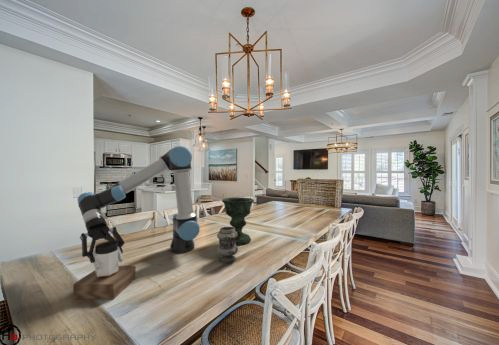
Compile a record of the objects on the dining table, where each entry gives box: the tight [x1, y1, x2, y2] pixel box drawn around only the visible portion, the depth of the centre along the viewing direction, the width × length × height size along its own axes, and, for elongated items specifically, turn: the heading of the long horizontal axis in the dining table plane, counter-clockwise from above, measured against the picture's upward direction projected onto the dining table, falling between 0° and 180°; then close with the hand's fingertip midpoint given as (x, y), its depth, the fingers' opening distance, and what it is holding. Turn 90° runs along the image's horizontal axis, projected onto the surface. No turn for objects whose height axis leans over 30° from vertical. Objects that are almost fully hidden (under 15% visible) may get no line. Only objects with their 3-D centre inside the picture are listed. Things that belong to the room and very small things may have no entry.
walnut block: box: [72, 265, 136, 300], centre depth 93 cm, size 16×16×6 cm
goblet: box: [221, 196, 255, 246], centre depth 153 cm, size 22×23×30 cm
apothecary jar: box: [216, 225, 239, 264], centre depth 122 cm, size 12×12×18 cm
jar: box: [94, 241, 119, 277], centre depth 93 cm, size 9×8×12 cm
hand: (110, 264), depth 91 cm, fingers closed on jar, 8 cm apart
